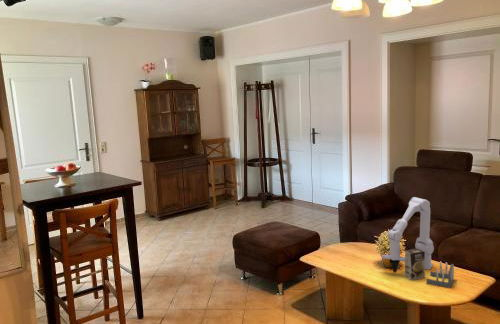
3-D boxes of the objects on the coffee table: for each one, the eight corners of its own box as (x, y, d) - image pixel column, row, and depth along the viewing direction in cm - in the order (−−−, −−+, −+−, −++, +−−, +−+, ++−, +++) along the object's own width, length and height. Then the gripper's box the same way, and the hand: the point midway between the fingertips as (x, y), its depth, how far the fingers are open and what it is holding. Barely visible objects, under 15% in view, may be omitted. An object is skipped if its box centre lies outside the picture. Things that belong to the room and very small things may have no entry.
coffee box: (411, 280, 232) (411, 253, 230) (404, 276, 238) (404, 250, 236) (425, 278, 234) (425, 251, 232) (417, 273, 240) (417, 247, 238)
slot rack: (430, 275, 237) (430, 259, 236) (453, 279, 231) (453, 263, 229) (426, 283, 227) (426, 267, 225) (450, 288, 220) (450, 271, 219)
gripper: (380, 250, 241) (380, 271, 243) (405, 253, 233) (406, 276, 235) (383, 246, 247) (384, 267, 249) (408, 249, 239) (408, 271, 241)
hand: (395, 271), depth 242 cm, fingers closed
